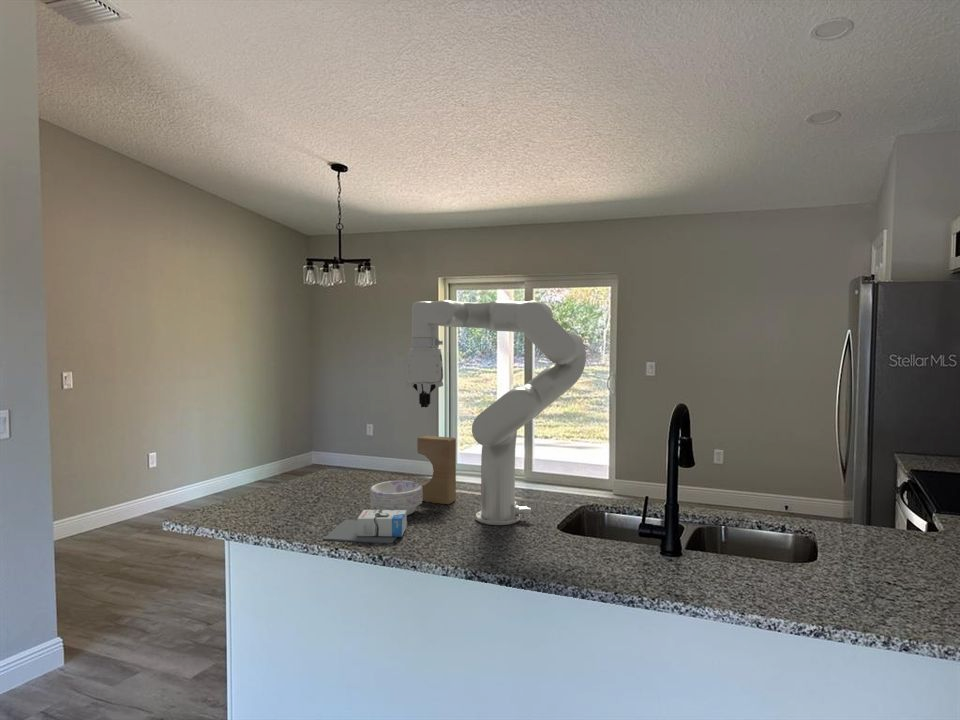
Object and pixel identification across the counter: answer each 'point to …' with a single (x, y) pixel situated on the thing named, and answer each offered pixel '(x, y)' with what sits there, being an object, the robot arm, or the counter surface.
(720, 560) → the counter surface
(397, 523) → the ink box
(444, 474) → the decorative block
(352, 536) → the mat
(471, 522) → the counter surface
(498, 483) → the robot arm
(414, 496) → the paper bowls
